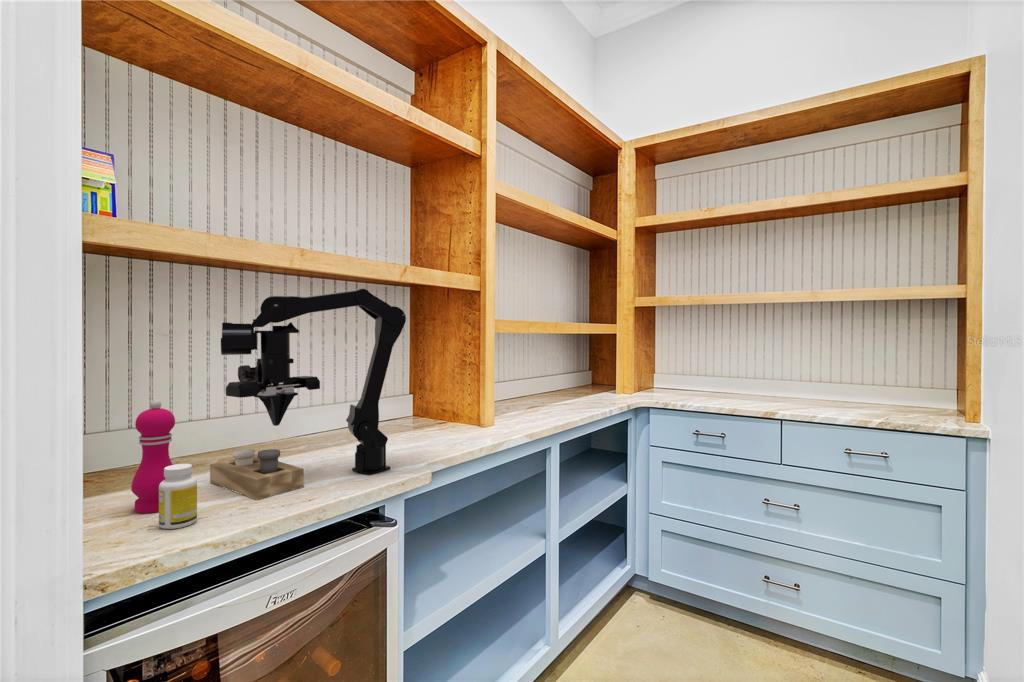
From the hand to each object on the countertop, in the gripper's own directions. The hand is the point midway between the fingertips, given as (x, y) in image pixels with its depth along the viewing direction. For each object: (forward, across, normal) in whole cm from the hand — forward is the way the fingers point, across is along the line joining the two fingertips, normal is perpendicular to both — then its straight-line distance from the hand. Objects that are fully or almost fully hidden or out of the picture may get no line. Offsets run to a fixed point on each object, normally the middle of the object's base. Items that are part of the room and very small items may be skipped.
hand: (276, 425), depth 109 cm
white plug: (+12, +4, -6) cm, 14 cm away
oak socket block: (+12, +4, -1) cm, 13 cm away
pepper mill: (+12, +22, -3) cm, 25 cm away
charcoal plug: (+10, +4, +4) cm, 12 cm away
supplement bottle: (+12, +23, +8) cm, 28 cm away
